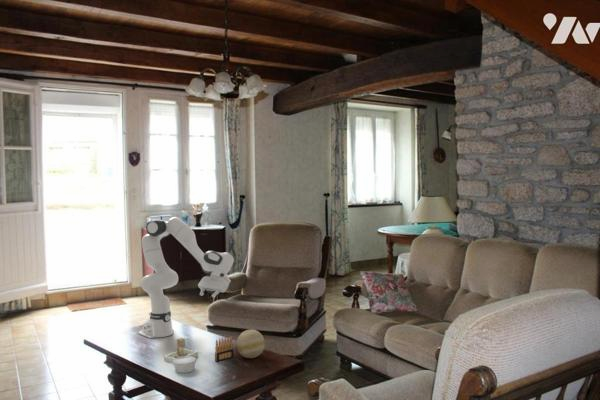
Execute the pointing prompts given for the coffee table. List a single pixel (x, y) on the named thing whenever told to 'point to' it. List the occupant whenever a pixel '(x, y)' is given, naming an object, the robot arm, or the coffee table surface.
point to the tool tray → (171, 356)
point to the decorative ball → (250, 343)
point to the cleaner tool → (181, 348)
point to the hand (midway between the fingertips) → (206, 296)
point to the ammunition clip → (224, 350)
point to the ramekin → (184, 364)
